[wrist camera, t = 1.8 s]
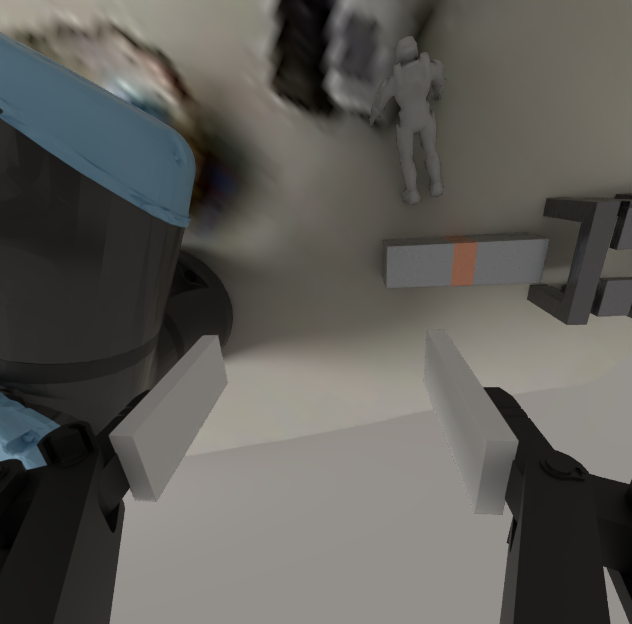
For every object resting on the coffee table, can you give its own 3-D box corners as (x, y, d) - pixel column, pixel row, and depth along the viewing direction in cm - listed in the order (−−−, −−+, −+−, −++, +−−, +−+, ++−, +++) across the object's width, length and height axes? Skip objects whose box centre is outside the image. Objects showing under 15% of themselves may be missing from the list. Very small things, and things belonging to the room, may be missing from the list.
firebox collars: (527, 299, 34) (566, 324, 28) (546, 198, 30) (597, 202, 24) (604, 296, 33) (663, 322, 27) (635, 192, 29) (711, 195, 23)
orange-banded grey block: (382, 276, 34) (386, 288, 31) (382, 239, 33) (387, 246, 29) (519, 271, 33) (540, 282, 29) (525, 232, 31) (549, 238, 28)
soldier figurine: (444, 170, 32) (433, 18, 24) (465, 190, 28) (458, 15, 20) (383, 191, 33) (354, 54, 26) (394, 213, 29) (363, 58, 22)
